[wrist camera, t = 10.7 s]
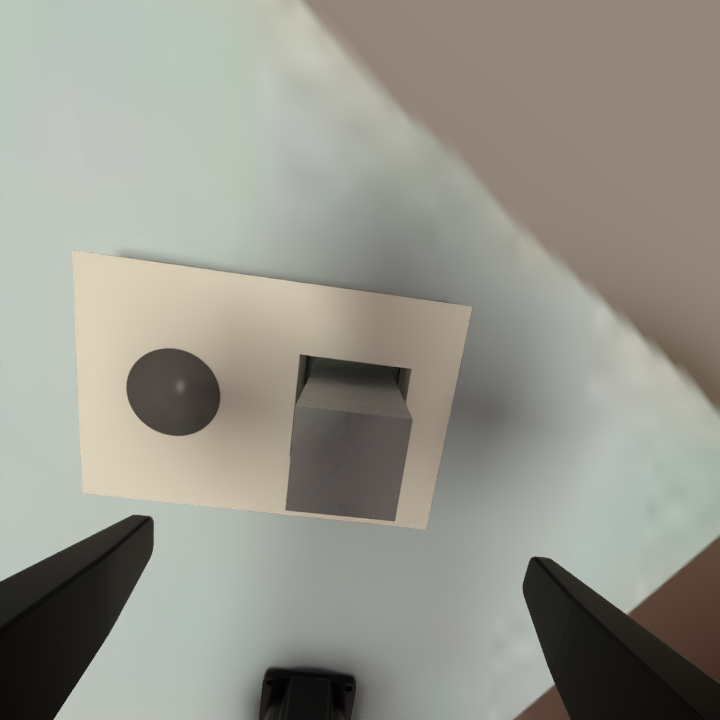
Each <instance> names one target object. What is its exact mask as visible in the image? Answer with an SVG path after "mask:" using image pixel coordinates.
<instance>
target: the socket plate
mask: <svg viewBox="0 0 720 720" xmlns="http://www.w3.org/2000/svg"><path fill="white" fill-rule="evenodd" d="M72 258H73V282H74V306H75V329H76V353H77V377H78V401H79V425H80V449H81V473H82V493H87V494H97V495H106V496H116V497H125V498H135V499H144V500H153V501H163V502H172V503H182V504H191V505H201V506H210V507H219V508H229V509H238V510H248V511H257V512H266V513H276V514H285V515H295V516H304V517H314V518H323V519H332V520H342V521H351V522H361V523H370V524H380V525H389V526H398V527H408V528H417V529H426V528H427V524H428V519H429V514H430V509H431V504H432V500H433V495H434V490H435V485H436V480H437V475H438V471H439V466H440V461H441V456H442V451H443V446H444V442H445V437H446V432H447V427H448V422H449V418H450V413H451V408H452V403H453V398H454V393H455V389H456V384H457V379H458V374H459V369H460V364H461V360H462V355H463V350H464V345H465V340H466V335H467V331H468V326H469V321H470V316H471V311H472V307H470V306H464V305H458V304H452V303H445V302H438V301H431V300H424V299H417V298H410V297H403V296H395V295H388V294H381V293H374V292H367V291H360V290H353V289H346V288H339V287H332V286H325V285H317V284H310V283H303V282H296V281H289V280H282V279H275V278H268V277H261V276H254V275H247V274H240V273H232V272H225V271H218V270H211V269H204V268H197V267H190V266H183V265H176V264H169V263H162V262H154V261H147V260H140V259H133V258H126V257H119V256H111V255H103V254H96V253H88V252H80V251H72ZM307 355H309V356H316V357H324V358H332V359H339V360H347V361H355V362H362V363H370V364H378V365H385V366H393V367H401V369H400V375H399V381H398V388H399V390H400V392H401V395H402V397H403V399H404V401H405V403H406V406H407V408H408V410H409V412H410V414H411V416H412V419H413V421H412V427H411V433H410V439H409V444H408V450H407V456H406V461H405V467H404V473H403V479H402V484H401V490H400V496H399V501H398V507H397V513H396V519H395V521H385V520H375V519H365V518H355V517H345V516H335V515H325V514H315V513H305V512H295V511H286V510H285V508H286V498H287V487H288V477H289V466H290V456H291V446H292V435H293V425H294V414H295V405H296V403H297V401H298V399H299V397H300V395H301V393H302V391H303V386H304V377H305V368H306V358H307Z"/></svg>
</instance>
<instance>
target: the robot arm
mask: <svg viewBox="0 0 720 720" xmlns="http://www.w3.org/2000/svg"><path fill="white" fill-rule="evenodd" d="M153 545H154V522H153V518H152V517H150V516H143V515H132V516H130V517H128V518H126V519H124V520H122V521H120V522H118V523H116V524H114V525H112V526H110V527H108V528H106V529H104V530H102V531H100V532H98V533H96V534H94V535H92V536H90V537H88V538H86V539H84V540H82V541H80V542H78V543H76V544H74V545H72V546H70V547H68V548H66V549H64V550H62V551H60V552H58V553H56V554H54V555H52V556H50V557H48V558H46V559H44V560H42V561H40V562H38V563H36V564H34V565H32V566H30V567H28V568H26V569H24V570H22V571H20V572H18V573H16V574H14V575H12V576H11V577H9V578H7V579H5V580H3V581H1V582H0V720H53V719H54V718H55V716H56V715H57V713H58V712H59V710H60V709H61V707H62V706H63V704H64V703H65V701H66V699H67V698H68V696H69V695H70V693H71V692H72V690H73V689H74V687H75V686H76V684H77V683H78V681H79V680H80V678H81V676H82V675H83V673H84V672H85V670H86V669H87V667H88V666H89V664H90V663H91V661H92V660H93V658H94V657H95V655H96V653H97V652H98V650H99V649H100V647H101V646H102V644H103V643H104V641H105V639H106V638H107V636H108V635H109V633H110V631H111V629H112V628H113V626H114V624H115V622H116V621H117V619H118V617H119V615H120V613H121V611H122V610H123V608H124V606H125V604H126V602H127V600H128V598H129V597H130V595H131V593H132V591H133V589H134V587H135V585H136V584H137V582H138V580H139V578H140V576H141V574H142V572H143V571H144V569H145V567H146V565H147V563H148V561H149V559H150V557H151V555H152V552H153ZM523 594H524V598H525V601H526V604H527V607H528V609H529V612H530V615H531V618H532V621H533V624H534V627H535V630H536V633H537V636H538V639H539V642H540V645H541V647H542V650H543V653H544V656H545V659H546V662H547V665H548V667H549V670H550V673H551V675H552V677H553V680H554V682H555V685H556V687H557V689H558V691H559V694H560V696H561V699H562V701H563V703H564V706H565V708H566V710H567V713H568V715H569V717H570V719H571V720H720V683H718V682H717V681H716V680H714V679H713V678H711V677H710V676H709V675H708V674H706V673H705V672H703V671H702V670H701V669H699V668H698V667H697V666H695V665H694V664H692V663H691V662H690V661H689V660H687V659H686V658H685V657H683V656H682V655H680V654H679V653H678V652H676V651H675V650H674V649H672V648H671V647H669V646H668V645H667V644H666V643H664V642H663V641H661V640H660V639H658V638H657V637H656V636H655V635H653V634H652V633H651V632H649V631H648V630H646V629H645V628H644V627H642V626H641V625H640V624H638V623H637V622H636V621H634V620H633V619H631V618H630V617H629V616H628V615H626V614H625V613H623V612H622V611H621V610H619V609H618V608H617V607H615V606H614V605H613V604H611V603H610V602H609V601H607V600H606V599H605V598H603V597H602V596H600V595H599V594H598V593H596V592H595V591H594V590H592V589H591V588H590V587H588V586H587V585H586V584H584V583H583V582H581V581H580V580H579V579H577V578H576V577H575V576H573V575H572V574H571V573H569V572H568V571H567V570H565V569H564V568H562V567H561V566H560V565H558V564H557V563H556V562H554V561H553V560H552V559H550V558H545V557H532V558H531V559H530V561H529V564H528V568H527V571H526V574H525V578H524V581H523ZM355 691H356V681H355V679H354V678H352V677H343V676H331V675H319V674H307V673H295V672H282V671H268V672H266V673H265V675H264V680H263V686H262V696H261V706H260V716H259V720H351V714H352V708H353V703H354V697H355Z"/></svg>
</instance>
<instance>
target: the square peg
mask: <svg viewBox="0 0 720 720" xmlns="http://www.w3.org/2000/svg"><path fill="white" fill-rule="evenodd" d="M412 421H413V419H412V416H411V414H410V412H409V410H408V408H407V406H406V403H405V401H404V399H403V397H402V395H401V392H400V390H399V388H398V386H397V384H396V381H395V379H394V377H393V375H392V373H391V370H390V368H389V366H385V365H378V364H370V363H362V362H355V361H347V360H339V359H331V358H322V357H319V358H318V360H317V362H316V364H315V366H314V368H313V370H312V372H311V374H310V376H309V378H308V381H307V383H306V385H305V387H304V389H303V391H302V393H301V395H300V397H299V399H298V401H297V403H296V405H295V414H294V425H293V435H292V446H291V456H290V466H289V477H288V487H287V498H286V508H285V510H286V511H295V512H305V513H315V514H325V515H335V516H345V517H355V518H365V519H375V520H385V521H395V519H396V513H397V507H398V501H399V496H400V490H401V484H402V479H403V473H404V467H405V461H406V456H407V450H408V444H409V439H410V433H411V427H412Z"/></svg>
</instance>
